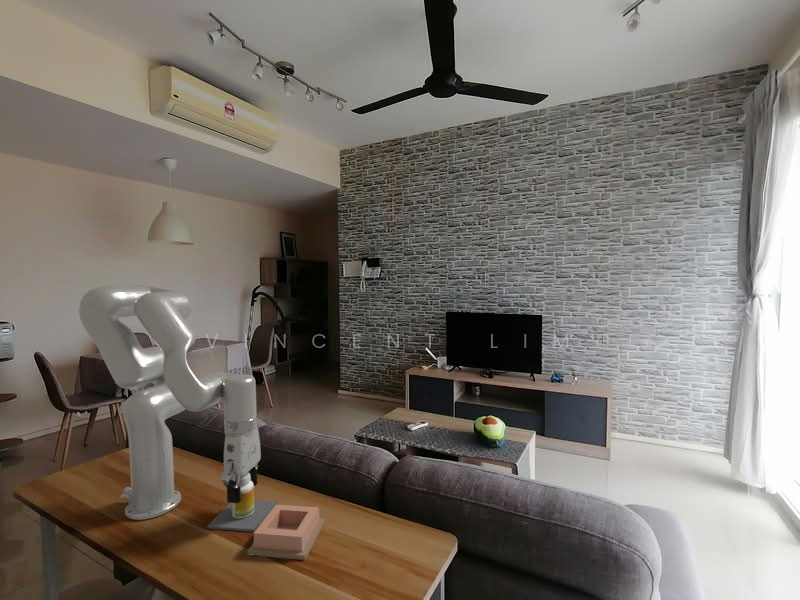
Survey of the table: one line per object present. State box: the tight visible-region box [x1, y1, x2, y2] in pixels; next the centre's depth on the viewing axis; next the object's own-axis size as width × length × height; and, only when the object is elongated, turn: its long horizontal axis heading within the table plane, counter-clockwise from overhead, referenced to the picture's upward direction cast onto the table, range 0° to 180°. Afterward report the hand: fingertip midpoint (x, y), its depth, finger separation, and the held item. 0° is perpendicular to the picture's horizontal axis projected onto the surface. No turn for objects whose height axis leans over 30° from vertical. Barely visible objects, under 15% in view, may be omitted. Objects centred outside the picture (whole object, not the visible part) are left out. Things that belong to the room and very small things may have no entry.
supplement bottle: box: [231, 472, 255, 519], centre depth 99 cm, size 5×5×10 cm
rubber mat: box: [206, 499, 278, 533], centre depth 99 cm, size 12×12×1 cm
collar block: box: [247, 504, 326, 561], centre depth 90 cm, size 13×13×4 cm
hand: (243, 492), depth 99 cm, fingers open, 7 cm apart
